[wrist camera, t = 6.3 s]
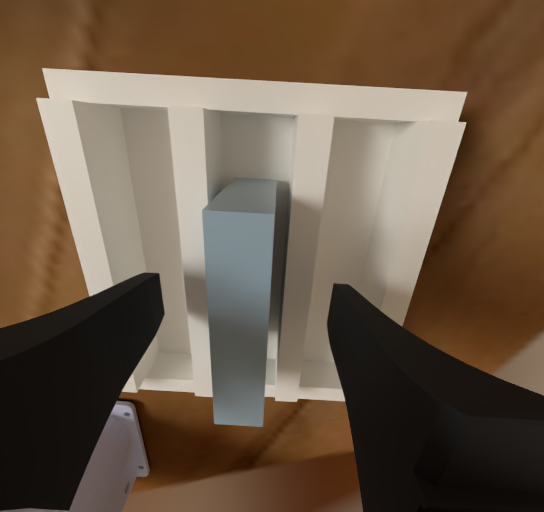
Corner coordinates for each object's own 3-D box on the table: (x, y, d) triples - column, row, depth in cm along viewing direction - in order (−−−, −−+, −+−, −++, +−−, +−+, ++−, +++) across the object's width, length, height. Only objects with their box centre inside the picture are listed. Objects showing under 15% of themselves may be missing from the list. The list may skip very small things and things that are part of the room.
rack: (359, 363, 19) (378, 418, 15) (145, 351, 19) (113, 403, 15) (425, 101, 12) (487, 87, 9) (94, 82, 12) (17, 61, 9)
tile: (268, 330, 17) (262, 426, 11) (235, 328, 17) (214, 423, 11) (276, 179, 13) (275, 214, 7) (235, 177, 13) (201, 209, 7)
